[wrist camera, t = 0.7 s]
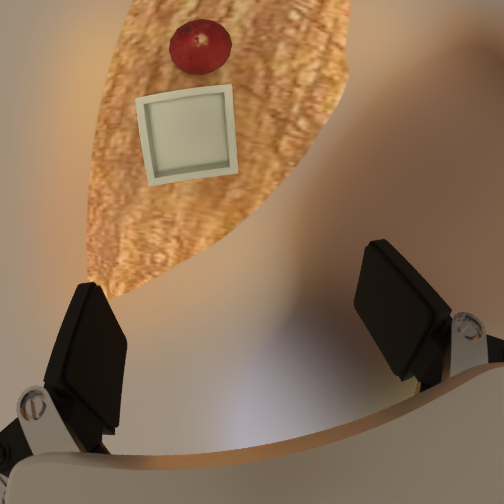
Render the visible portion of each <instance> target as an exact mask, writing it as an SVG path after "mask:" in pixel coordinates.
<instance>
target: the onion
mask: <svg viewBox="0 0 504 504" xmlns="http://www.w3.org/2000/svg"><path fill="white" fill-rule="evenodd" d="M231 47H232V42H231V39H230V35H229V33H228V32H227V31H226V30H225V28H224V27H223V26H221V25H220V24H218V23H216V22H215V21H211V20H205V19H199V20H194V21H190V22H187V23H186V24H184V25H183V26H181V27H180V28H178V29H177V30H176V32H175V33H174V35H173V36H172V38H171V39H170V47H169V52H170V55H171V58H172V61H173V62H174V63H175V64H176V66H177V67H178V68H179V69H181V70H183V71H185V72H187V73H189V74H199V75H202V74H206V73H209V72H213V71H214V70H216V69H217V68H219V67H221V66H222V65H223V64H224V63H225V61H226V60H227V59H228V57H229V56H230V51H231Z"/></svg>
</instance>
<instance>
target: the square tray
mask: <svg viewBox="0 0 504 504" xmlns="http://www.w3.org/2000/svg"><path fill="white" fill-rule="evenodd" d="M135 104H136V112H137V120H138V127H139V134H140V140H141V146H142V153H143V159H144V164H145V170H146V175H147V181H148V186H149V187H150V186H156V185H161V184H167V183H173V182H180V181H186V180H193V179H200V178H207V177H214V176H222V175H230V174H238V162H237V149H236V135H235V122H234V108H233V94H232V84H225V85H214V86H205V87H197V88H189V89H182V90H176V91H170V92H164V93H159V94H153V95H148V96H143V97H139V98H135Z"/></svg>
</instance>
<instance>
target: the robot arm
mask: <svg viewBox="0 0 504 504" xmlns="http://www.w3.org/2000/svg"><path fill="white" fill-rule="evenodd" d="M354 307H355V310H356V311H357V313H358V314H359V316H360V318H361V319H362V321H363V322H364V324H365V326H366V327H367V329H368V331H369V332H370V334H371V336H372V337H373V339H374V341H375V342H376V344H377V346H378V347H379V349H380V351H381V352H382V354H383V356H384V357H385V359H386V361H387V363H388V364H389V366H390V368H391V370H392V371H393V373H394V374H395V375H396V376H399V378H400V379H401V381H402V382H403V381H405V380H407V379H409V378H411V377H413V376H415V377H416V379H417V383H416V388H415V394H414V396H413V397H411V398H408V399H406V400H404V401H402V402H400V403H397V404H395V405H393V406H390V407H388V408H386V409H383V410H381V411H378V412H376V413H373V414H371V415H368V416H365V417H363V418H360V419H357V420H354V421H352V422H349V423H346V424H343V425H340V426H336V427H333V428H330V429H327V430H324V431H320V432H316V433H313V434H309V435H305V436H302V437H298V438H294V439H289V440H285V441H281V442H276V443H271V444H266V445H261V446H255V447H250V448H243V449H236V450H229V451H221V452H212V453H202V454H187V455H163V456H144V455H112V454H111V453H110V452H109V451H108V450H107V448H106V447H105V445H104V444H103V443H102V434H105V435H115V428H116V427H118V426H119V418H120V405H121V393H122V384H123V375H124V366H125V359H126V351H127V340H126V337H125V335H124V333H123V332H122V329H121V328H120V326H119V324H118V322H117V320H116V318H115V316H114V314H113V312H112V309H111V307H110V306H109V303H108V301H107V299H106V297H105V295H104V292H103V290H102V288H101V287H100V286H97V285H96V284H95V283H94V282H89V283H82V284H79V285H78V286H77V288H76V291H75V293H74V296H73V297H72V300H71V302H70V305H69V307H68V310H67V312H66V315H65V317H64V320H63V322H62V325H61V328H60V330H59V333H58V336H57V339H56V342H55V345H54V347H53V351H52V354H51V357H50V360H49V363H48V366H47V370H46V373H45V376H44V380H43V381H44V382H45V384H44V387H41V386H37V385H36V386H31V387H29V388H27V389H26V390H25V391H24V392H23V393H22V394H21V396H20V397H19V399H18V402H17V415H18V417H17V418H16V419H15V420H14V421H13V422H11V424H9V425H8V426H7V427H6V428H5V429H4V430H2V431H1V432H0V504H504V340H501V339H499V338H496V337H493V336H489V335H487V334H486V331H485V327H484V325H483V323H482V322H481V321H480V319H479V318H477V317H476V316H474V315H473V314H470V313H468V312H459V313H457V314H455V315H454V317H453V318H451V317H450V313H451V311H452V310H451V308H450V307H449V306H448V305H447V304H446V302H445V301H444V300H443V299H442V298H441V297H440V296H439V294H438V293H437V292H436V291H435V290H434V289H433V288H432V287H431V285H429V283H428V282H427V281H426V280H425V279H424V278H423V277H422V276H421V275H420V274H419V273H418V271H417V270H416V269H415V268H414V267H413V266H412V265H411V264H410V263H409V262H408V261H407V260H406V259H405V258H404V257H403V256H402V255H401V254H400V253H399V252H398V251H397V250H396V249H395V248H394V247H393V246H392V245H391V244H390V243H389V242H388V241H387V240H385V239H381V240H375V241H371V242H370V243H369V245H368V246H366V248H365V251H364V257H363V262H362V266H361V271H360V276H359V281H358V285H357V290H356V294H355V299H354Z"/></svg>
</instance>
